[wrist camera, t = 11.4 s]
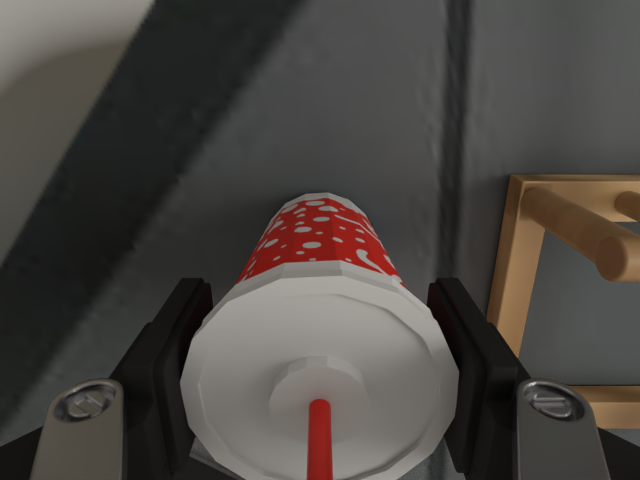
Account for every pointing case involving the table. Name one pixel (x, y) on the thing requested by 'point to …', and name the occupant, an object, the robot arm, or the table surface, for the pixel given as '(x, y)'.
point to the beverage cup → (319, 357)
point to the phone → (204, 466)
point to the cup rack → (584, 236)
